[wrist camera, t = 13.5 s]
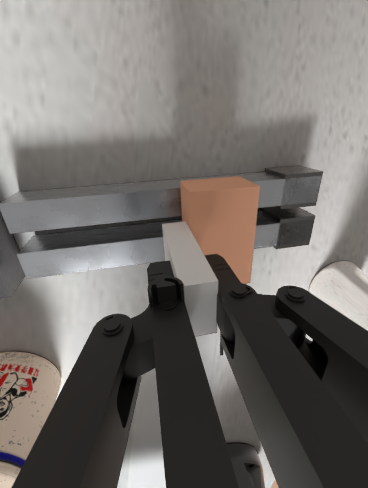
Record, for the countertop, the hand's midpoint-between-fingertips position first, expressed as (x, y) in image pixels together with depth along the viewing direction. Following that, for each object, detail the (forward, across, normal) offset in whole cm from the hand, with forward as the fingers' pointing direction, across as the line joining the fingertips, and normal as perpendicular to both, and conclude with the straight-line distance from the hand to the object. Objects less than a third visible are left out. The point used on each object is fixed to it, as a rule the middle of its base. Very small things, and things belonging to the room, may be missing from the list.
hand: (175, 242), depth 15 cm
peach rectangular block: (+2, +3, 0) cm, 3 cm away
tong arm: (+5, +1, -1) cm, 5 cm away
